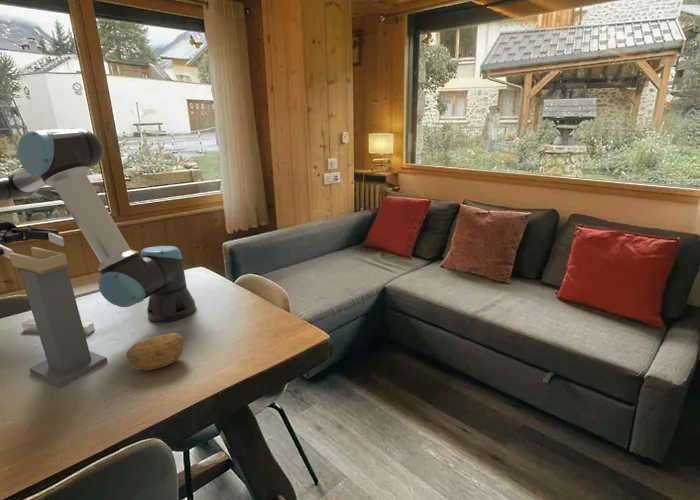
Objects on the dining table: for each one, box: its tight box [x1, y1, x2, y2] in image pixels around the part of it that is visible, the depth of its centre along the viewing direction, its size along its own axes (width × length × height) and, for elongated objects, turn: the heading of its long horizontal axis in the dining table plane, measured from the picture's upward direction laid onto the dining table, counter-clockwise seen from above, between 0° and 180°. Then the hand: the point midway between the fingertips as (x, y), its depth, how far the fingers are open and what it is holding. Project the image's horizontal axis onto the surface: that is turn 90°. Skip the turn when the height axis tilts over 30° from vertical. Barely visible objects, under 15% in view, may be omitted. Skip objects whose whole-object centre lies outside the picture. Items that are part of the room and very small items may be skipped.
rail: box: [21, 318, 96, 336], centre depth 129 cm, size 23×3×3 cm, turn 81°
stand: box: [9, 246, 109, 389], centre depth 104 cm, size 14×12×32 cm
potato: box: [125, 332, 185, 371], centre depth 108 cm, size 10×14×8 cm
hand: (38, 248), depth 121 cm, fingers open, 13 cm apart
